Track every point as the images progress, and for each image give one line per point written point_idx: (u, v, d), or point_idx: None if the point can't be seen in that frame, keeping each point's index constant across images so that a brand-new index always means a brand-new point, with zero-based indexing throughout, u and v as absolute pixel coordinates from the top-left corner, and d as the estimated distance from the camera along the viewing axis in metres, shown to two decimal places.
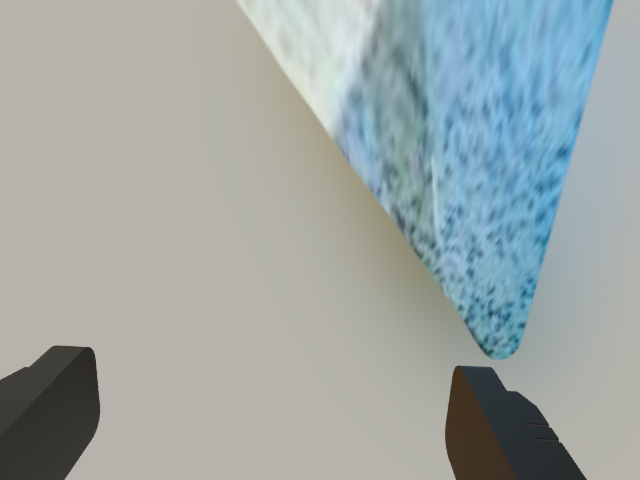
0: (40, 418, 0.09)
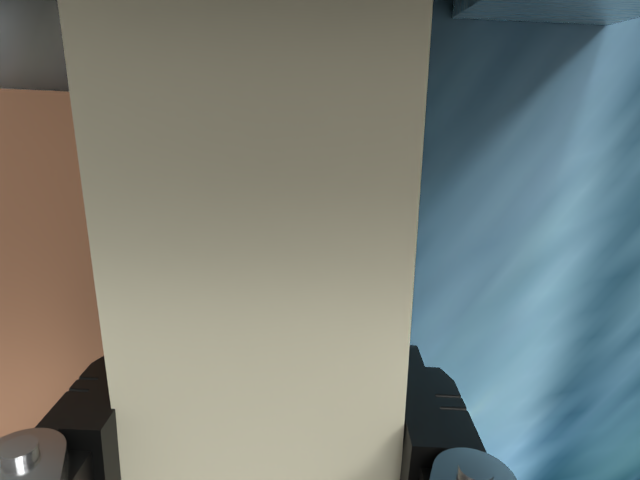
0: None
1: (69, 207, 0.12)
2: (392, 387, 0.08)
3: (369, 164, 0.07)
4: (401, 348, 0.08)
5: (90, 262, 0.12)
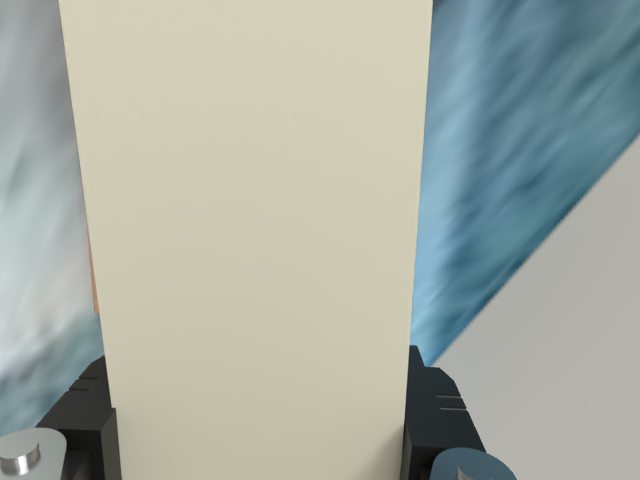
0: None
1: None
2: (392, 388, 0.08)
3: (370, 166, 0.07)
4: (401, 349, 0.08)
5: None
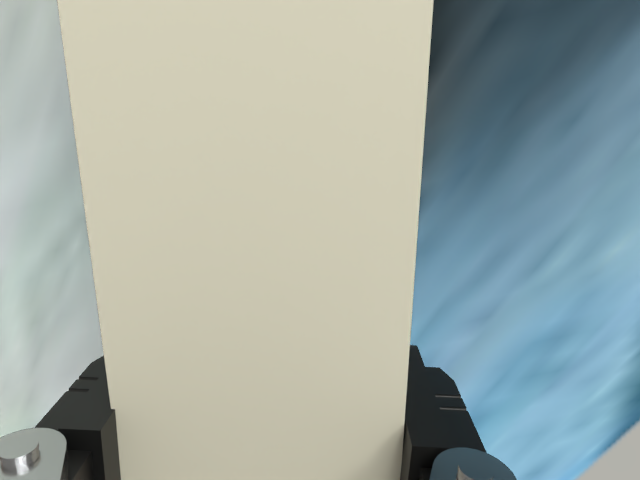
0: None
1: None
2: (392, 390, 0.08)
3: (370, 167, 0.07)
4: (401, 351, 0.08)
5: None
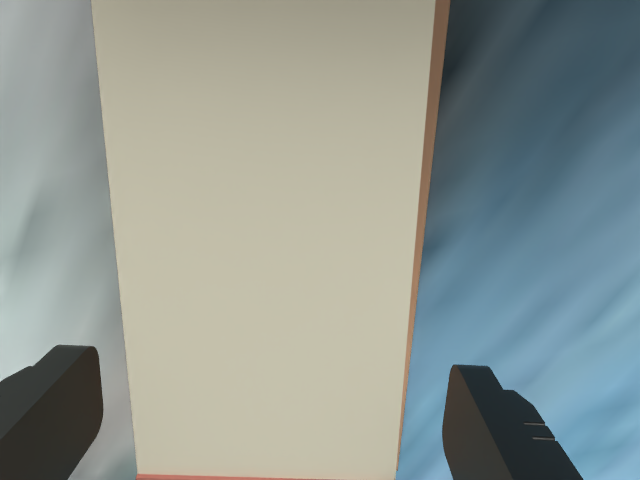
0: (45, 416, 0.09)
1: None
2: (390, 373, 0.09)
3: (373, 166, 0.08)
4: (399, 336, 0.09)
5: None
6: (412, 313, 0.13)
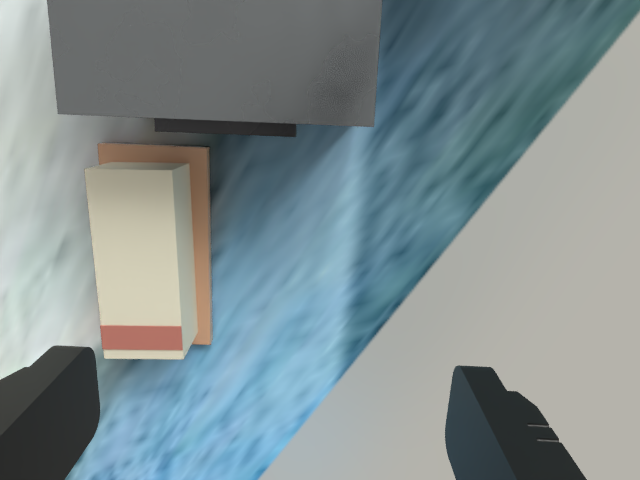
0: (40, 418, 0.09)
1: None
2: (175, 290, 0.30)
3: (162, 231, 0.29)
4: (176, 279, 0.30)
5: None
6: (208, 279, 0.34)
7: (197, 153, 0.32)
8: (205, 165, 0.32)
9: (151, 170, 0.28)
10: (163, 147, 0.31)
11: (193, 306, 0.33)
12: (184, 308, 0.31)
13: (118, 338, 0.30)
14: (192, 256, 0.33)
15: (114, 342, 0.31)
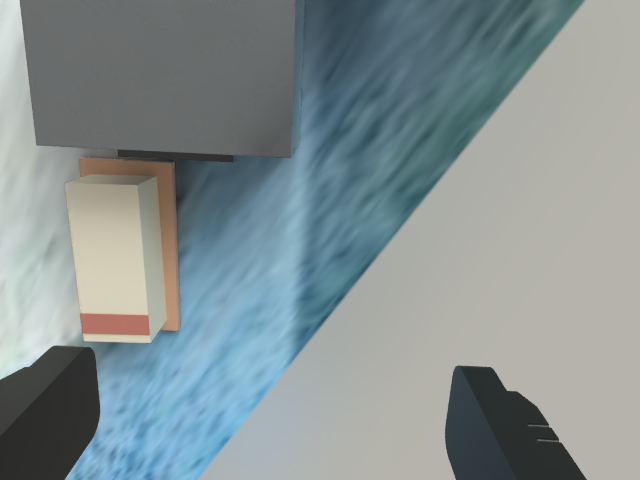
0: (41, 417, 0.09)
1: None
2: (142, 284, 0.35)
3: (131, 235, 0.34)
4: (143, 275, 0.35)
5: None
6: (175, 274, 0.39)
7: (163, 167, 0.37)
8: (171, 178, 0.37)
9: (120, 184, 0.33)
10: (134, 162, 0.37)
11: (161, 298, 0.39)
12: (151, 300, 0.37)
13: (95, 324, 0.36)
14: (160, 255, 0.38)
15: (91, 327, 0.36)
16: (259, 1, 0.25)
